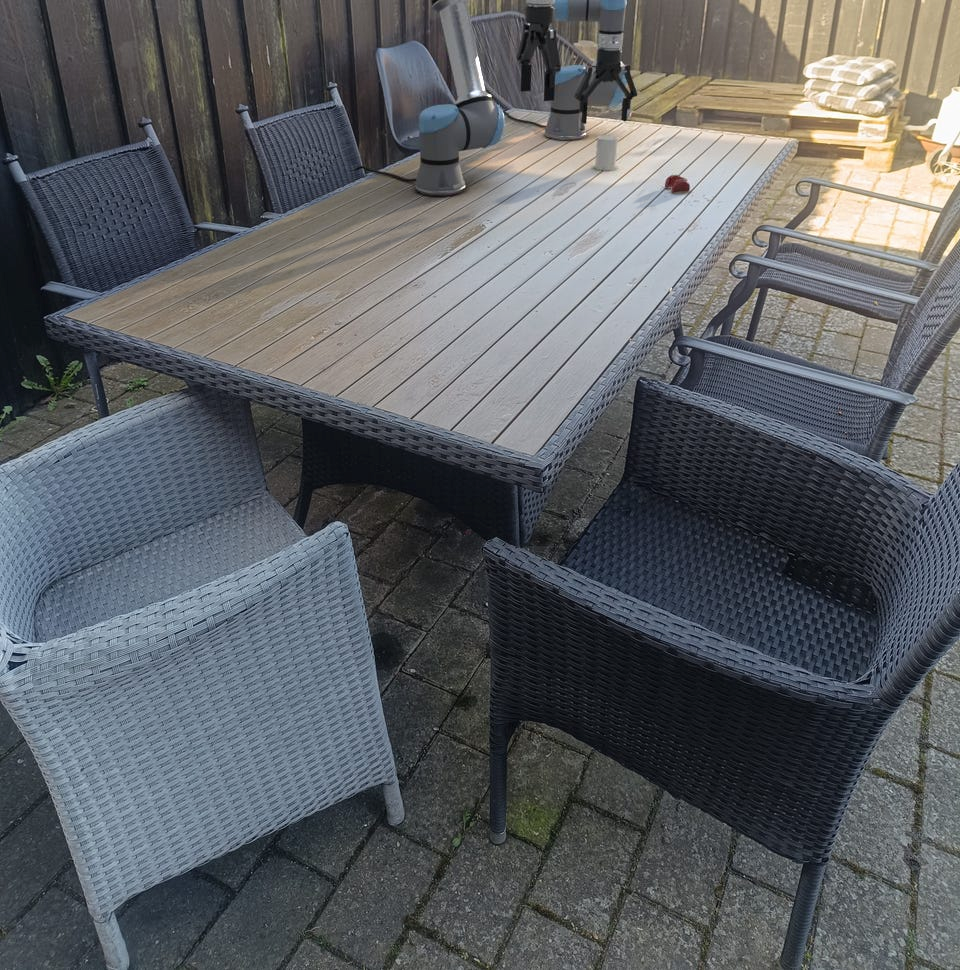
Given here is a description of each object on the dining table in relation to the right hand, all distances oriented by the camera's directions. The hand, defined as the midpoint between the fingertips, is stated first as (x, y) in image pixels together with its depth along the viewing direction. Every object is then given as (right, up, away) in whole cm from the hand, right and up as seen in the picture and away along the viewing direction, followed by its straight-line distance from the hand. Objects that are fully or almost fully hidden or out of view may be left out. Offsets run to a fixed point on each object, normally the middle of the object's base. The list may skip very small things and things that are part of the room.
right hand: (603, 121), depth 271 cm
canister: (+1, -12, +7) cm, 14 cm away
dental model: (+20, -26, -13) cm, 36 cm away
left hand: (-25, -13, -45) cm, 53 cm away
